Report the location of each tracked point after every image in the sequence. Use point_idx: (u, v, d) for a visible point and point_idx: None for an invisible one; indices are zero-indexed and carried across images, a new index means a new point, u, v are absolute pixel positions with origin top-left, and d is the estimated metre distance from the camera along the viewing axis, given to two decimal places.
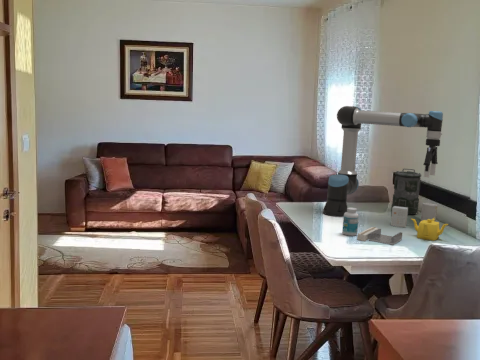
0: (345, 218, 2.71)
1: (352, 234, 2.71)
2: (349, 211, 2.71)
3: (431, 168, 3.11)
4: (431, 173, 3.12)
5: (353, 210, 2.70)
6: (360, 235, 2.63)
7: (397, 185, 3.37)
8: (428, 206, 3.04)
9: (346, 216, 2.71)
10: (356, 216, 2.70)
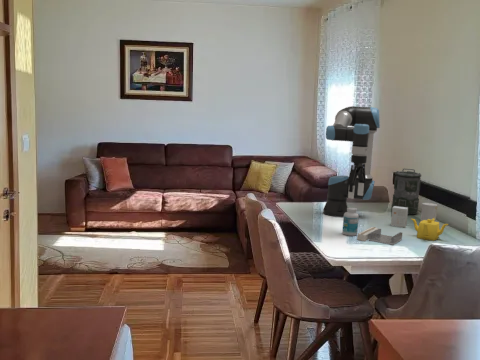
0: (345, 218, 2.71)
1: (352, 234, 2.71)
2: (349, 211, 2.71)
3: (359, 187, 2.78)
4: (359, 193, 2.78)
5: (353, 210, 2.70)
6: (360, 235, 2.63)
7: (397, 185, 3.37)
8: (428, 206, 3.04)
9: (346, 216, 2.71)
10: (356, 216, 2.70)
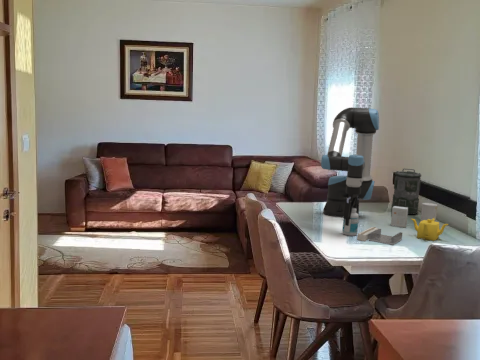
0: None
1: (352, 234, 2.71)
2: None
3: None
4: None
5: (353, 210, 2.70)
6: (360, 235, 2.63)
7: (397, 185, 3.37)
8: (428, 206, 3.04)
9: None
10: (356, 216, 2.70)
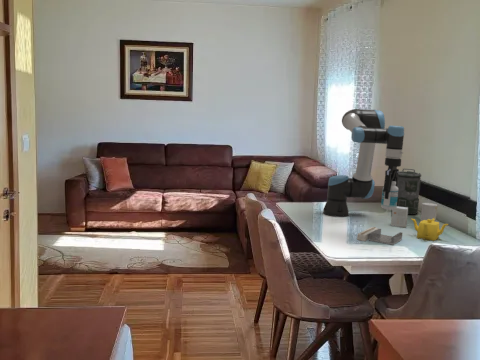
0: None
1: (392, 208, 2.61)
2: None
3: None
4: None
5: (393, 183, 2.60)
6: (360, 235, 2.63)
7: None
8: (428, 206, 3.04)
9: None
10: (396, 189, 2.60)
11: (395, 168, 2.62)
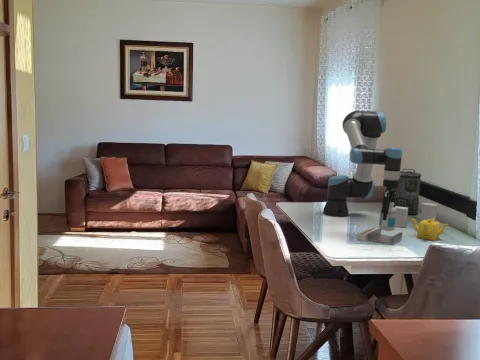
0: None
1: (390, 229, 2.62)
2: None
3: None
4: None
5: (391, 204, 2.62)
6: (360, 235, 2.63)
7: None
8: (428, 206, 3.04)
9: None
10: (394, 210, 2.61)
11: (393, 189, 2.64)
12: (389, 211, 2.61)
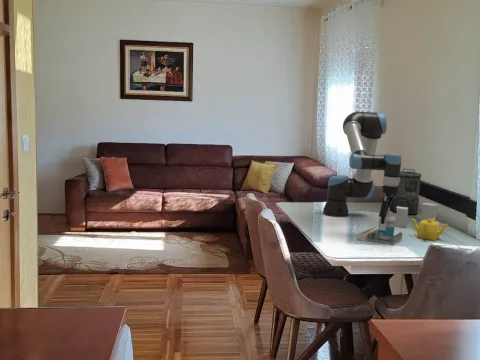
0: None
1: (389, 239, 2.63)
2: None
3: None
4: None
5: (390, 213, 2.62)
6: (360, 235, 2.63)
7: (397, 185, 3.37)
8: (428, 206, 3.04)
9: None
10: (393, 220, 2.62)
11: (392, 196, 2.64)
12: (388, 220, 2.61)
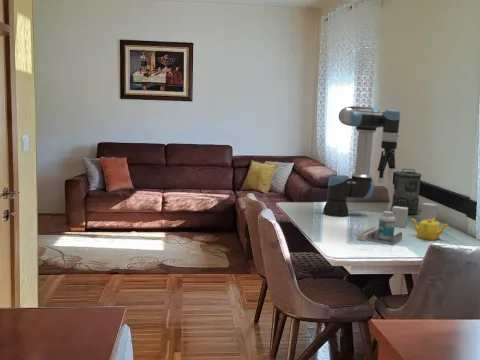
0: (381, 222, 2.63)
1: (389, 239, 2.63)
2: (385, 214, 2.63)
3: (389, 173, 2.78)
4: (388, 179, 2.79)
5: (390, 213, 2.62)
6: (360, 235, 2.63)
7: (397, 185, 3.37)
8: (428, 206, 3.04)
9: (382, 220, 2.63)
10: (393, 220, 2.62)
11: (391, 152, 2.71)
12: (388, 220, 2.61)
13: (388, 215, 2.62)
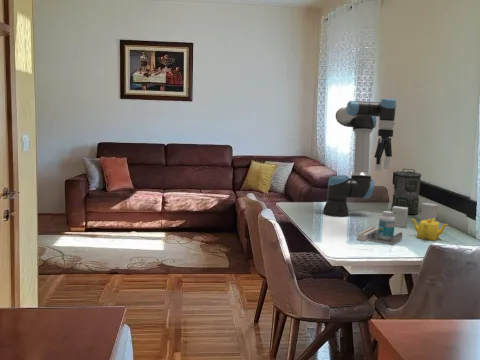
0: (381, 222, 2.63)
1: (389, 239, 2.63)
2: (385, 214, 2.63)
3: (385, 161, 2.86)
4: (385, 167, 2.86)
5: (390, 213, 2.62)
6: (360, 235, 2.63)
7: (397, 185, 3.37)
8: (428, 206, 3.04)
9: (382, 220, 2.63)
10: (393, 220, 2.62)
11: (387, 140, 2.79)
12: (388, 220, 2.61)
13: (388, 215, 2.62)
